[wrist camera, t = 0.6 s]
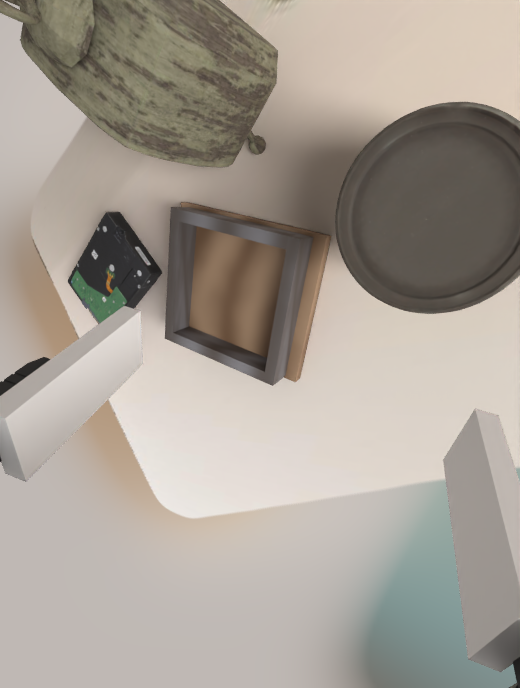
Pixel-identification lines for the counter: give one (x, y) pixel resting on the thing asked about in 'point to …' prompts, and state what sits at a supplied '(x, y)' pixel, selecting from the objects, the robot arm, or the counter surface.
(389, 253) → the coffee can
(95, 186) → the counter surface
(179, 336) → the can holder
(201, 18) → the tabletop clock
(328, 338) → the counter surface
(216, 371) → the counter surface
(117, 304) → the disk drive
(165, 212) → the counter surface
